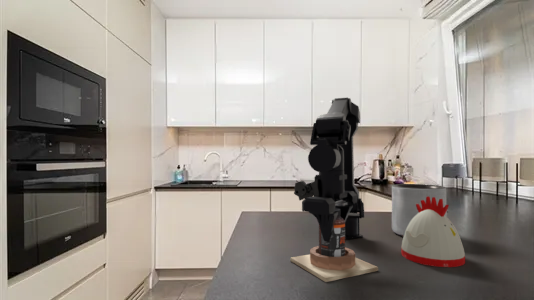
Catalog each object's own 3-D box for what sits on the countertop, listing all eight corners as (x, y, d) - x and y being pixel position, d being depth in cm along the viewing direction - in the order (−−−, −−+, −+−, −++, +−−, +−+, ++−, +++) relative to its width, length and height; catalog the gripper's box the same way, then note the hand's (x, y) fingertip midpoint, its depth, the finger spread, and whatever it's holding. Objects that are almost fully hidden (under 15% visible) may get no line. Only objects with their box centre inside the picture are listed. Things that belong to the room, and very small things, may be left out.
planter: (456, 242, 89) (455, 188, 90) (398, 239, 92) (397, 188, 93) (436, 229, 105) (435, 184, 105) (387, 227, 108) (386, 183, 108)
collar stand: (337, 252, 80) (337, 240, 80) (378, 270, 67) (377, 255, 67) (290, 260, 73) (290, 247, 74) (325, 282, 61) (325, 265, 61)
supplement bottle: (346, 263, 67) (345, 211, 67) (318, 261, 68) (317, 210, 68) (344, 254, 73) (344, 206, 73) (319, 253, 74) (318, 206, 74)
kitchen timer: (441, 271, 67) (440, 202, 67) (389, 253, 79) (388, 195, 79) (477, 261, 73) (476, 198, 74) (424, 246, 85) (423, 192, 86)
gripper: (316, 168, 83) (317, 226, 83) (280, 171, 68) (280, 242, 67) (357, 169, 77) (358, 231, 76) (327, 172, 61) (328, 251, 61)
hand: (332, 238), depth 70 cm, fingers closed on supplement bottle, 6 cm apart
